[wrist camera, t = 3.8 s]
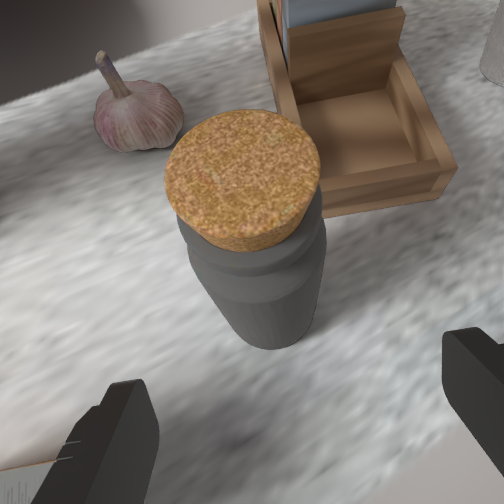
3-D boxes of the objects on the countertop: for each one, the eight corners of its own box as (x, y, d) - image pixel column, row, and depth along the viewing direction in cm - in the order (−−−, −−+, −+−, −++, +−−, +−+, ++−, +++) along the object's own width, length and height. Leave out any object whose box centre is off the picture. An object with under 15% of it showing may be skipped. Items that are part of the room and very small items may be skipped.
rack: (437, 198, 26) (558, 15, 14) (303, 222, 26) (310, 63, 15) (358, 16, 36) (390, -185, 24) (259, 36, 36) (242, -153, 24)
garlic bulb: (90, 144, 32) (32, 66, 25) (145, 94, 34) (106, 8, 27) (147, 181, 30) (101, 106, 23) (203, 125, 32) (177, 39, 25)
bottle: (329, 330, 23) (379, 206, 9) (245, 364, 23) (172, 287, 9) (293, 254, 25) (291, 71, 12) (216, 285, 25) (126, 131, 12)
